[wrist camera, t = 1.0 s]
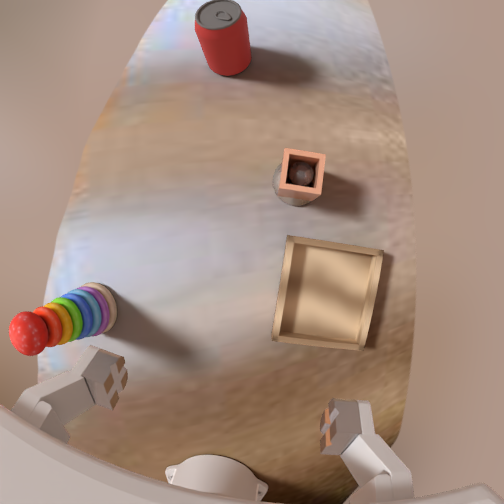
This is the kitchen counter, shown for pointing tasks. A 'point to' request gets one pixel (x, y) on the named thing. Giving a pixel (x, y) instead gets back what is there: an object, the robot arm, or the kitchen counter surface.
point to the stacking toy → (64, 319)
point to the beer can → (223, 36)
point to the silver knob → (294, 180)
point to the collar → (315, 185)
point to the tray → (326, 293)
